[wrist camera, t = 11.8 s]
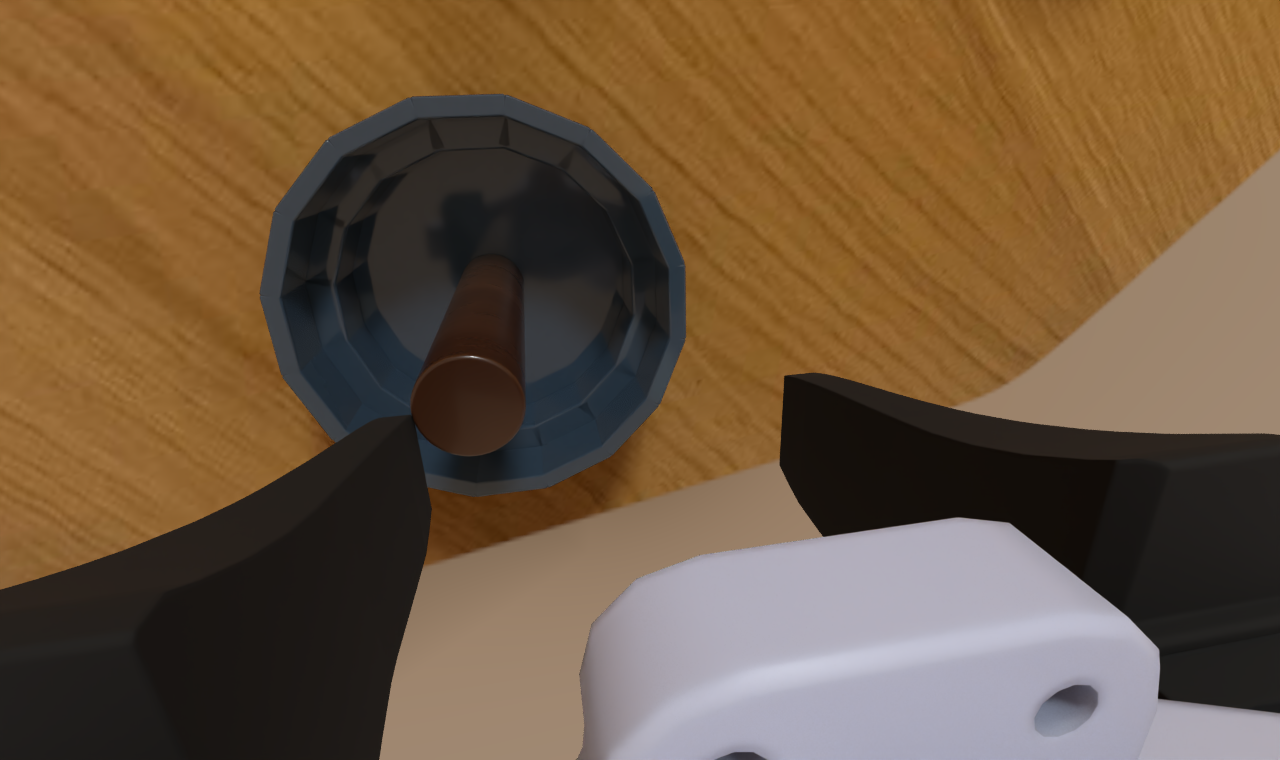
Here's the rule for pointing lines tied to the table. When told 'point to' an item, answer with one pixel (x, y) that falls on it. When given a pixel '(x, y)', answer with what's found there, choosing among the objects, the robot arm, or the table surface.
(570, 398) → the mixing bowl
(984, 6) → the table surface
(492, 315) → the stirring stick
